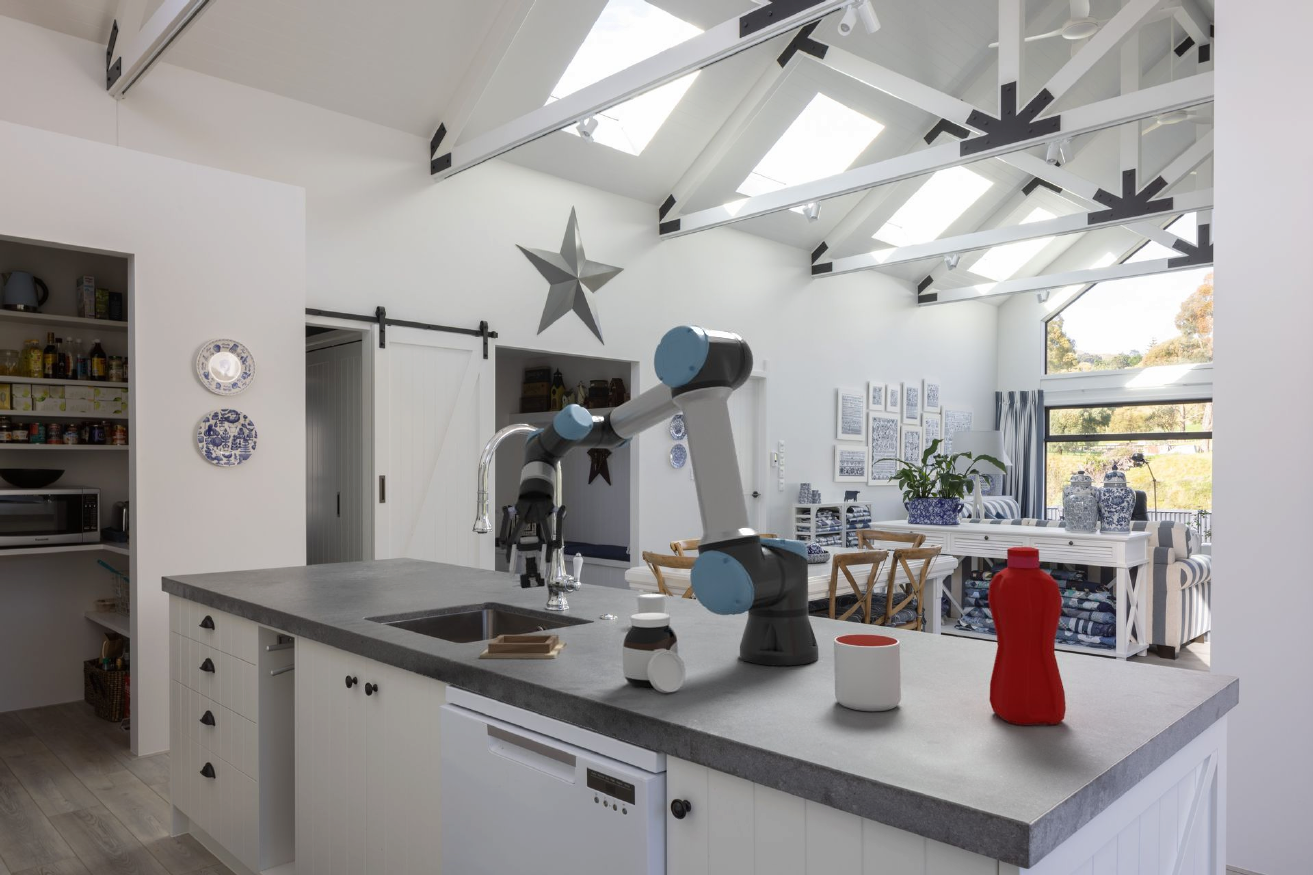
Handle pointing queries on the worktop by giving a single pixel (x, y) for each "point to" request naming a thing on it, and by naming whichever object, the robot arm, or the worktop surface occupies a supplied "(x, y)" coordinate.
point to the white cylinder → (651, 603)
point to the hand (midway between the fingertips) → (527, 574)
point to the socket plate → (524, 646)
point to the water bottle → (1026, 642)
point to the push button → (530, 562)
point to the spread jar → (652, 654)
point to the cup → (867, 672)
